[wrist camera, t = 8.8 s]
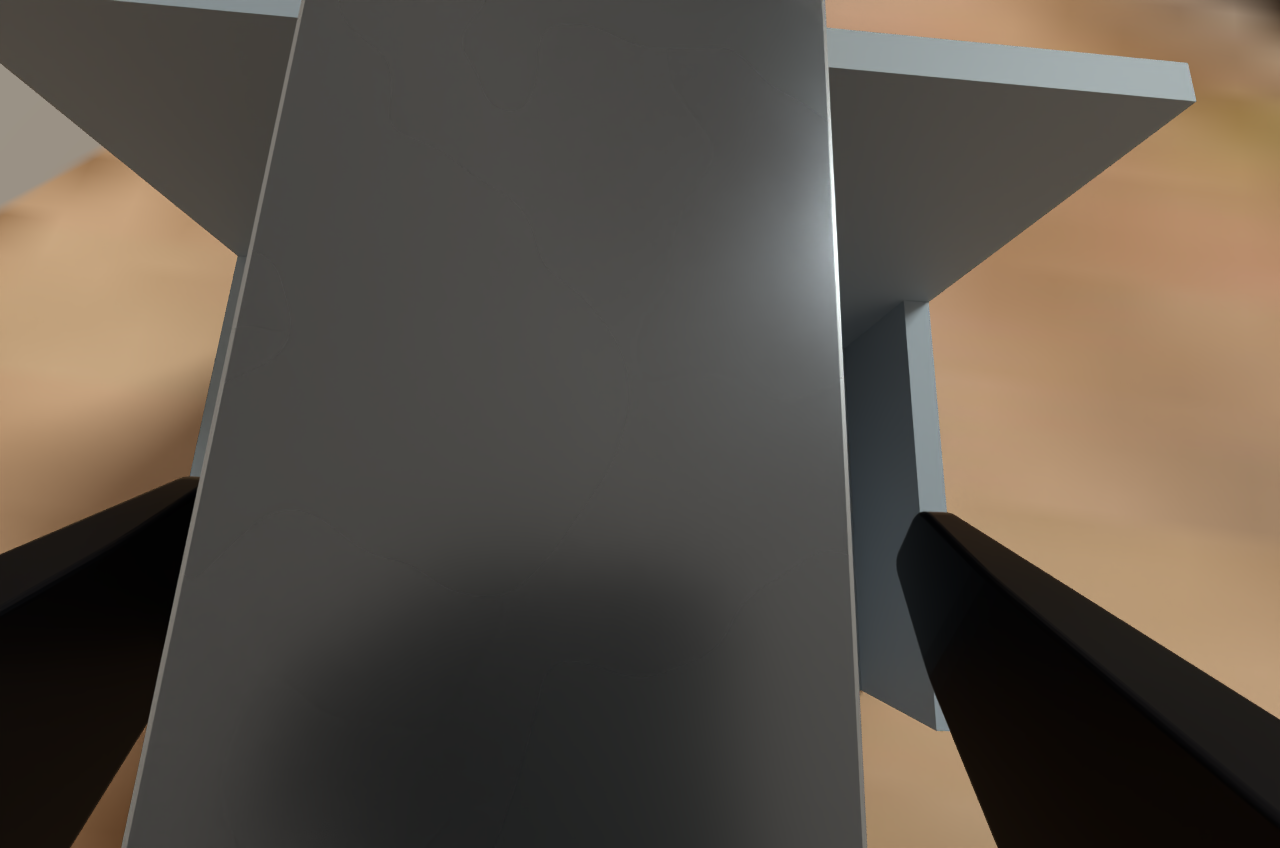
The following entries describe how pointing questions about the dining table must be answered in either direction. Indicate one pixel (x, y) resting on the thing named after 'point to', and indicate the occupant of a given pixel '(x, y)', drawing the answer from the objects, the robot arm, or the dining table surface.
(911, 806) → the dining table surface
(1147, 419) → the dining table surface
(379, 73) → the grey rectangular block
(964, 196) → the rack
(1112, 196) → the dining table surface
